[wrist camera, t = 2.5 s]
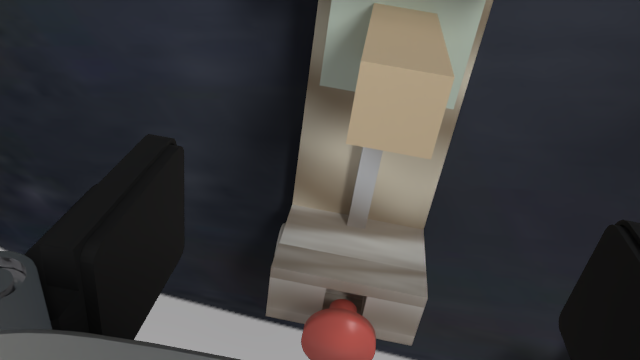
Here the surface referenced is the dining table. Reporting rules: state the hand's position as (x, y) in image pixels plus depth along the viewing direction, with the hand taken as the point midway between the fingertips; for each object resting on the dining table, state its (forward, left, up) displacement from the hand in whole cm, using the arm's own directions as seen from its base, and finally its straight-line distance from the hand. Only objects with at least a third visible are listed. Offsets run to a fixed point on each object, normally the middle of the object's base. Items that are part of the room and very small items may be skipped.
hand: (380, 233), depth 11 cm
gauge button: (+15, 0, -12) cm, 19 cm away
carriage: (0, 0, -19) cm, 19 cm away
